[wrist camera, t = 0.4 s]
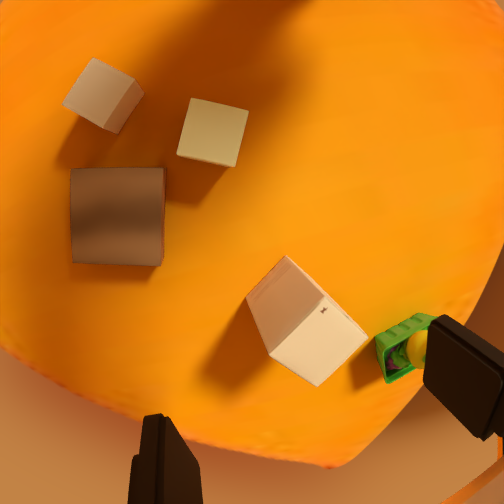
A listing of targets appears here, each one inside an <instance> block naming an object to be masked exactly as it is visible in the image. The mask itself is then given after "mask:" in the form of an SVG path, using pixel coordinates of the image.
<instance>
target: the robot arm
mask: <svg viewBox="0 0 504 504" xmlns="http://www.w3.org/2000/svg"><path fill="white" fill-rule="evenodd" d="M423 383H424V385H425V386H426V388H427V389H428V390H429V391H430V392H431V393H432V394H433V395H434V396H435V397H436V398H437V399H438V400H439V401H440V402H441V403H442V404H443V405H444V406H445V407H446V408H447V409H448V410H449V411H450V412H451V413H452V414H453V415H454V416H455V417H456V418H457V419H458V420H459V421H460V422H461V423H462V424H463V425H464V426H465V427H466V428H467V429H468V430H469V431H470V432H471V433H472V435H473V436H475V437H476V438H480V439H481V440H482V441H485V440H486V439H487V438H489V437H490V436H491V435H492V434H493V433H494V432H495V433H496V434H497V435H498V458H497V462H495V463H494V464H493V465H492V466H491V467H489V468H488V469H487V470H486V471H484V472H483V473H482V474H481V475H479V476H478V477H477V478H476V479H474V480H473V481H472V482H471V483H469V484H468V485H466V486H465V487H464V488H462V489H461V490H459V491H458V492H457V493H455V494H454V495H453V496H451V497H449V498H448V499H446V500H445V501H443V502H442V503H440V504H504V353H503V352H501V351H500V350H498V349H497V348H495V347H494V346H493V345H491V344H490V343H488V342H487V341H485V340H484V339H482V338H481V337H479V336H478V335H476V334H475V333H473V332H472V331H470V330H469V329H467V328H466V327H464V326H463V325H461V324H460V323H458V322H457V321H455V320H454V319H452V318H451V317H449V316H448V315H445V314H443V315H441V316H439V317H437V318H436V319H434V320H432V321H431V322H430V326H429V327H428V332H427V345H426V356H425V366H424V374H423ZM128 504H203V498H202V487H201V476H200V467H199V464H198V461H197V460H196V458H195V457H194V455H193V454H192V452H191V451H190V449H189V448H188V446H187V445H186V443H185V442H184V440H183V438H182V437H181V435H180V434H179V432H178V431H177V429H176V427H175V426H174V424H173V422H172V421H171V419H170V418H169V417H168V416H167V417H164V416H163V414H161V413H159V414H154V415H148V416H145V417H144V419H143V426H142V435H141V442H140V451H139V454H137V455H134V457H133V459H132V465H131V473H130V483H129V493H128Z"/></svg>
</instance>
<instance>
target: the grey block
mask: <svg viewBox="0 0 504 504" xmlns="http://www.w3.org/2000/svg"><path fill="white" fill-rule="evenodd" d="M144 94H145V93H144V91H143V90H142V88H141V87H140V85H139V84H138V82H137V81H136V79H134V78H132V77H131V76H129V75H127V74H125V73H123V72H121V71H119V70H117V69H115V68H113V67H111V66H110V65H108V64H106V63H104V62H102V61H100V60H98V59H96V58H94V57H93V58H92V59H91V61H90V62H89V64H88V65H87V66H86V68H85V69H84V71H83V72H82V74H81V75H80V76H79V78H78V79H77V81H76V82H75V84H74V85H73V87H72V89H71V90H70V92H69V93H68V95H67V96H66V98H65V100H64V101H63V103H62V105H63V106H65V107H67V108H68V109H70V110H72V111H74V112H75V113H77V114H79V115H80V116H82V117H84V118H86V119H87V120H89V121H91V122H93V123H94V124H96V125H98V126H99V127H101V128H103V129H105V130H108V131H110V132H112V133H115V134H117V135H118V133H119V131H120V130H121V128H122V127H123V125H124V124H125V122H126V120H127V119H128V117H129V116H130V114H131V113H132V111H133V110H134V108H135V107H136V105H137V104H138V103H139V101H140V100H141V98H142V97H143V95H144Z"/></svg>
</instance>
